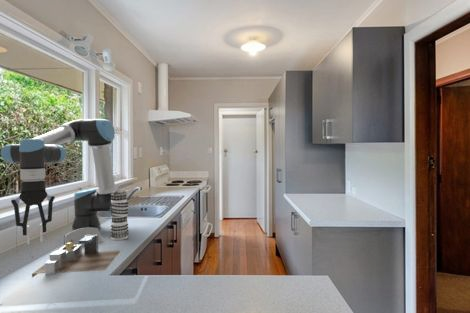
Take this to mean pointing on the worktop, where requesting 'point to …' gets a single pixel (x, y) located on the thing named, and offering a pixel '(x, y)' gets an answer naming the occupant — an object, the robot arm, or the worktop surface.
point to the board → (86, 262)
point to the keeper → (90, 244)
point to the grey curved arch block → (81, 235)
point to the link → (61, 259)
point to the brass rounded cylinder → (69, 246)
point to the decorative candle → (119, 215)
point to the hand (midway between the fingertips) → (35, 242)
